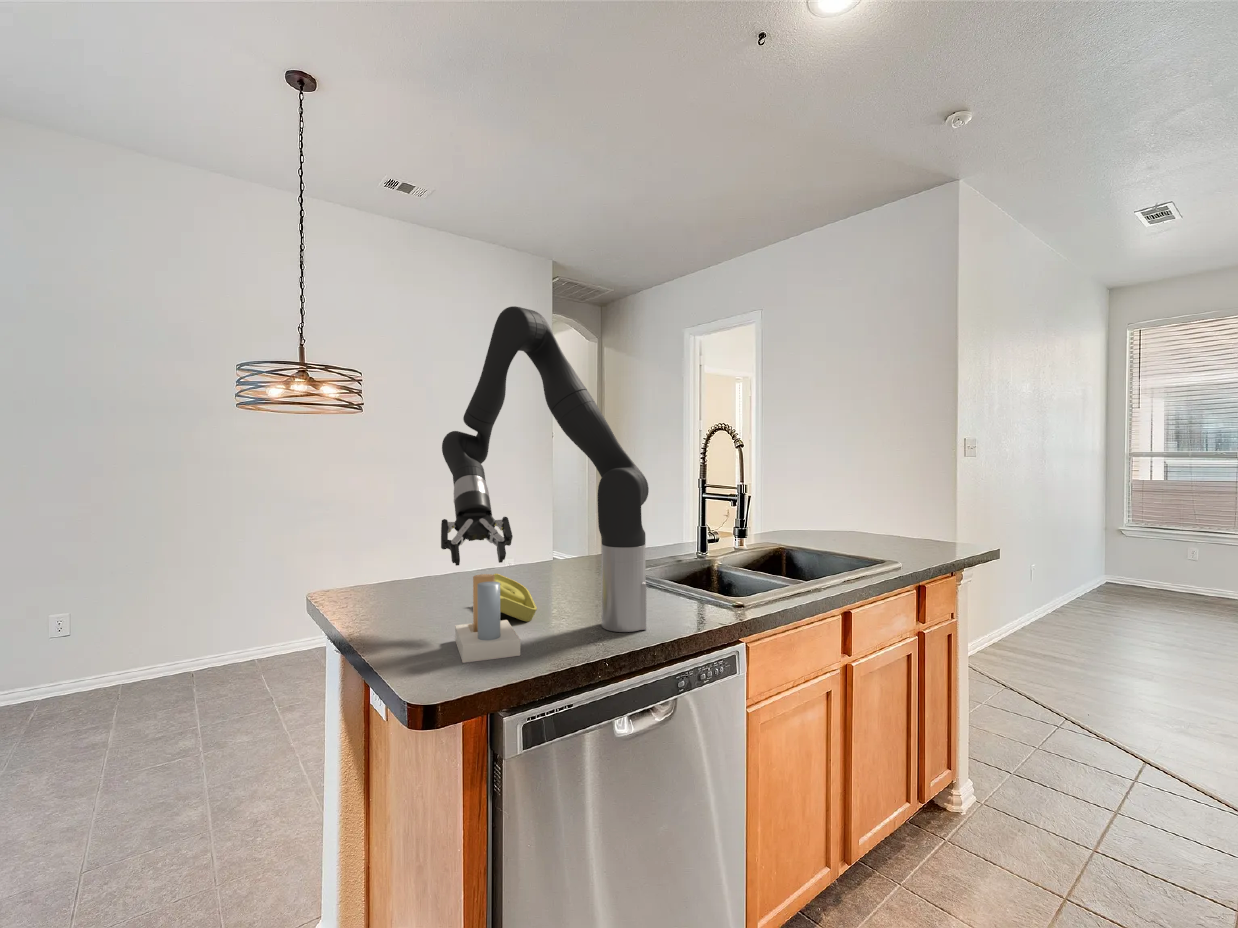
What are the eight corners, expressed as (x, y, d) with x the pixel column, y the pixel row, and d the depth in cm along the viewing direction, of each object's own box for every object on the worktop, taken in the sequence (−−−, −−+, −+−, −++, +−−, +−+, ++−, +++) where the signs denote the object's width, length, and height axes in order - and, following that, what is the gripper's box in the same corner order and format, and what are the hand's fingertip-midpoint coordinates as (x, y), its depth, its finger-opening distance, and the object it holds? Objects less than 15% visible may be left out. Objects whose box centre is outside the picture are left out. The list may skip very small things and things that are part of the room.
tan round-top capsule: (496, 635, 113) (496, 574, 113) (492, 641, 109) (492, 578, 109) (475, 635, 113) (475, 574, 113) (471, 641, 109) (470, 578, 109)
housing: (455, 640, 112) (455, 575, 112) (507, 634, 116) (506, 571, 115) (462, 662, 100) (462, 589, 100) (520, 655, 103) (520, 585, 103)
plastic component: (538, 611, 125) (496, 594, 122) (523, 643, 124) (480, 626, 121) (526, 585, 144) (489, 570, 141) (513, 612, 143) (475, 597, 140)
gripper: (438, 490, 121) (443, 552, 111) (506, 488, 126) (517, 548, 116) (437, 513, 126) (441, 575, 116) (502, 510, 131) (512, 569, 121)
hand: (479, 561), depth 116 cm, fingers open, 8 cm apart
